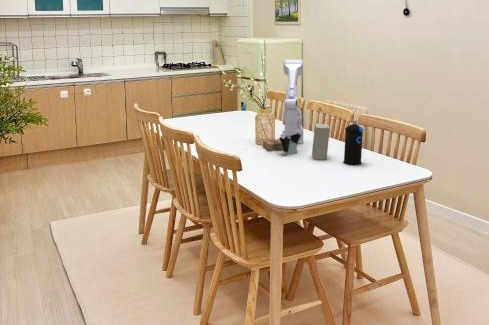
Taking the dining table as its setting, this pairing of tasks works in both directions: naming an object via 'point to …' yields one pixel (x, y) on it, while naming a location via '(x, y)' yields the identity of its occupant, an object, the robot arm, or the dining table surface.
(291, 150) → the teal block
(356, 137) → the aerosol can
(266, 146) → the walnut block
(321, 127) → the skincare box
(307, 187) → the dining table surface
